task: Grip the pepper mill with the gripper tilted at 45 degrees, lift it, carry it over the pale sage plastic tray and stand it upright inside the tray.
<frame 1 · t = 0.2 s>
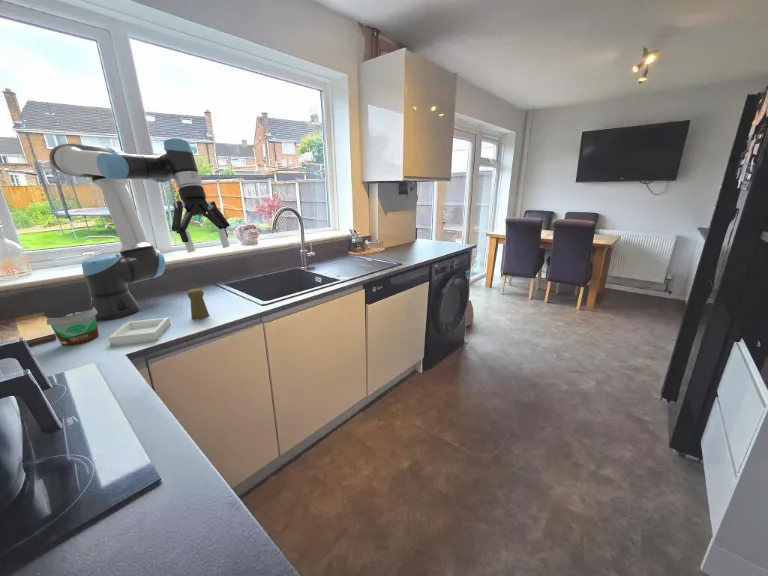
hand: (209, 249, 111), 27 cm above the worktop, tool tilted 15°, fingers open, 13 cm apart
pepper mill: (200, 317, 125), on the worktop
food container: (83, 342, 106), on the worktop
tray: (142, 334, 110), on the worktop
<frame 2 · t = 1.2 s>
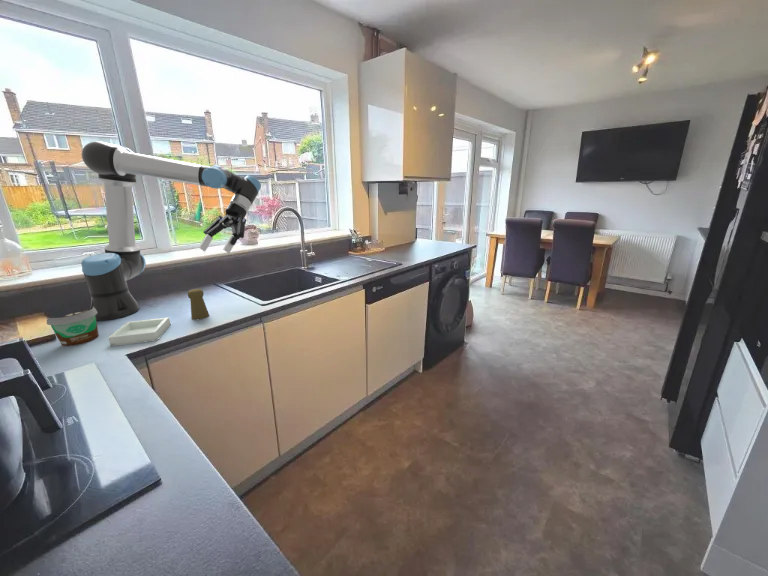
hand: (213, 250, 127), 24 cm above the worktop, tool tilted 45°, fingers open, 13 cm apart
nothing on the worktop moved.
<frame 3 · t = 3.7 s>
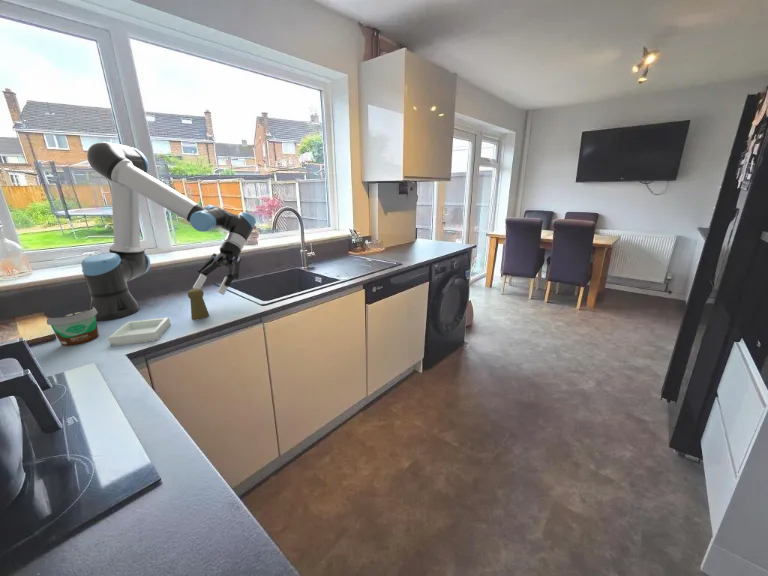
hand: (207, 291, 125), 9 cm above the worktop, tool tilted 45°, fingers open, 13 cm apart
nothing on the worktop moved.
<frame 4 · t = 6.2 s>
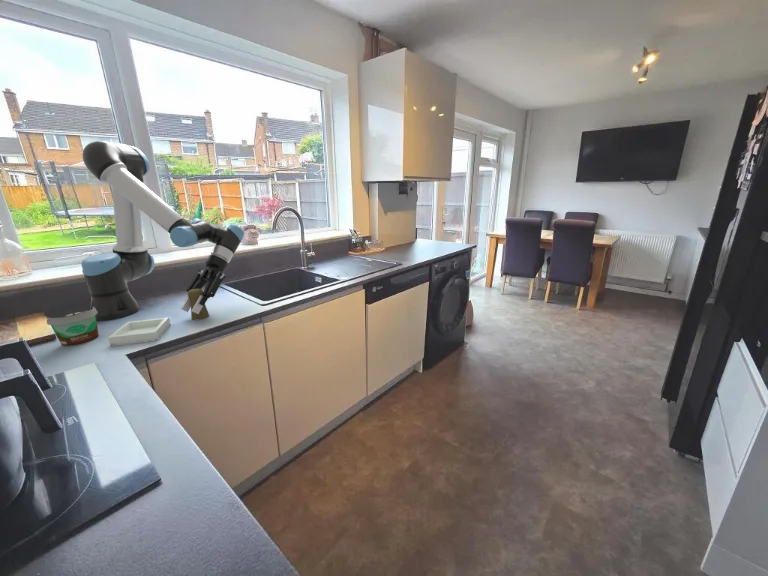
hand: (189, 311, 120), 4 cm above the worktop, tool tilted 45°, fingers closed on pepper mill, 5 cm apart
pepper mill: (200, 317, 125), on the worktop, touching gripper
everything else where it was.
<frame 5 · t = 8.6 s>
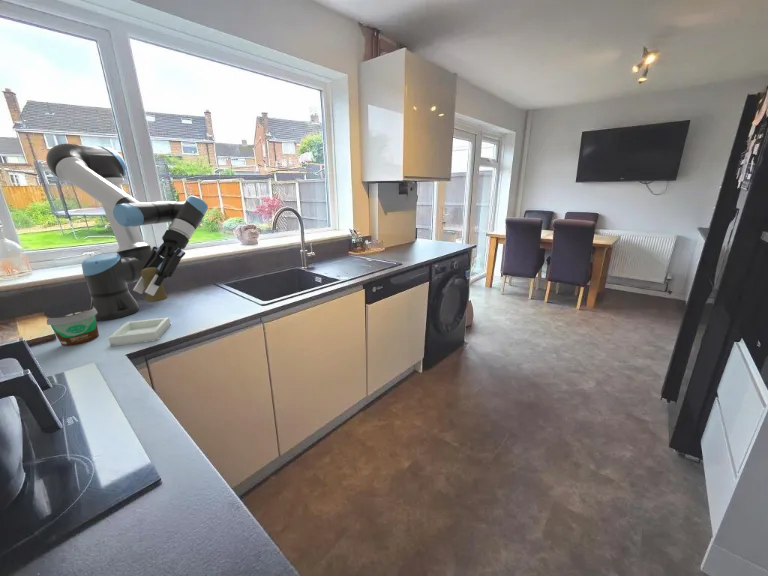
hand: (143, 292, 106), 15 cm above the worktop, tool tilted 45°, fingers closed on pepper mill, 5 cm apart
pepper mill: (157, 299, 110), point 11 cm above the worktop, touching gripper
everything else where it was.
when the fingers open (6 cm above the worktop, at t = 11.1 s): pepper mill drops 1 cm, resting on tray.
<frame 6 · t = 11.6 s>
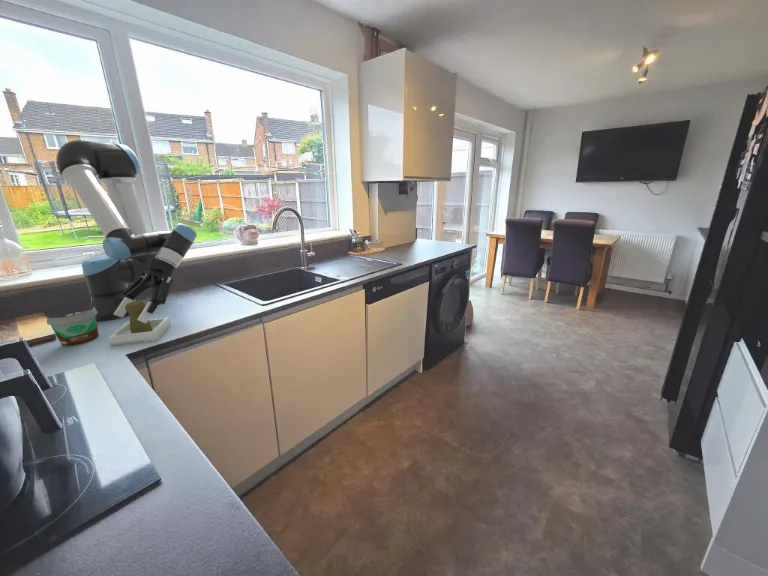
hand: (129, 318, 106), 7 cm above the worktop, tool tilted 45°, fingers open, 12 cm apart
pepper mill: (142, 333, 110), point 1 cm above the worktop, touching tray
everything else where it was.
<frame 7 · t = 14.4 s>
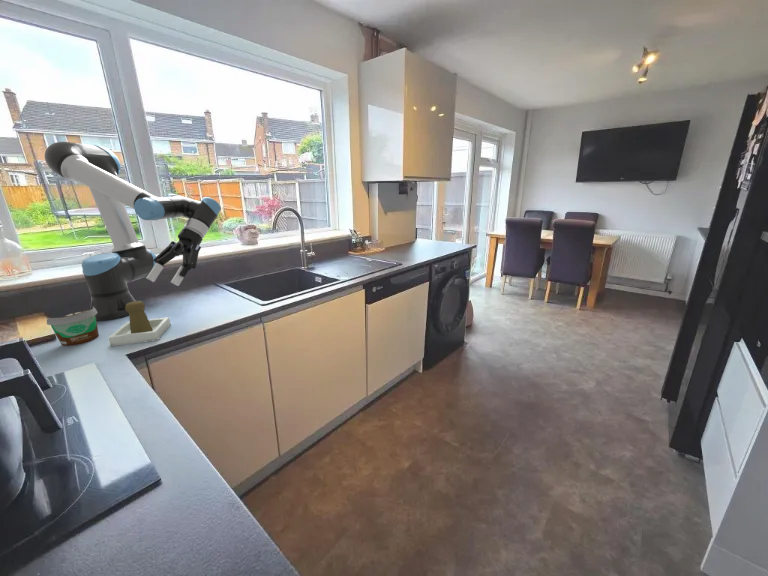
hand: (161, 282, 114), 16 cm above the worktop, tool tilted 45°, fingers open, 13 cm apart
nothing on the worktop moved.
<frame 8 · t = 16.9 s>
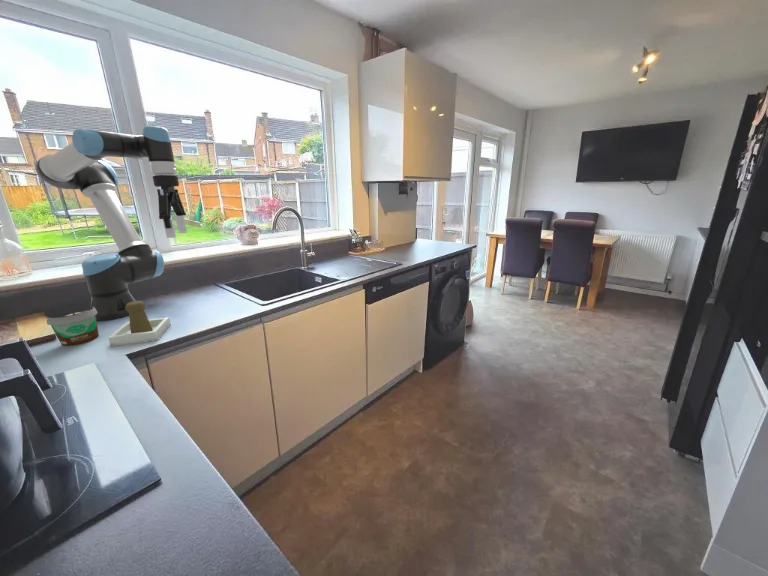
hand: (177, 235, 121), 31 cm above the worktop, tool pointing down, fingers open, 13 cm apart
nothing on the worktop moved.
at the end: pepper mill inside the target area on the tray (0.2 cm from its centre), point 0.6 cm above the tray's base; pepper mill tilted 0°; the gripper is holding nothing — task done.
